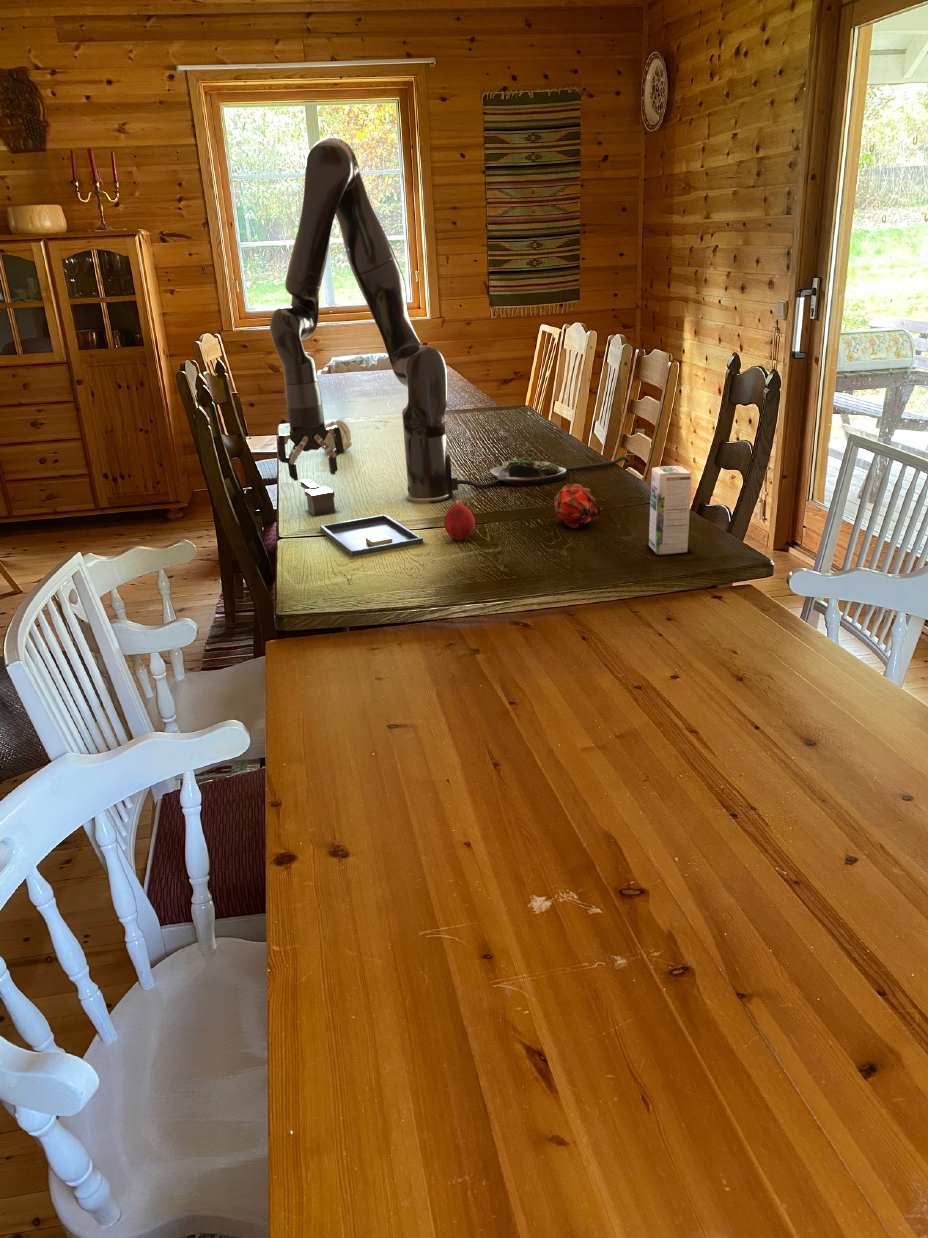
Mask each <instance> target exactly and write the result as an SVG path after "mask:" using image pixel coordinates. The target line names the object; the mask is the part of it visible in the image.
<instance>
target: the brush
mask: <svg viewBox="0 0 928 1238" xmlns="http://www.w3.org/2000/svg"><path fill="white" fill-rule="evenodd" d="M300 487H301V488H302V489H304V495H305V497H306V502H307V511H308V512H309V513H310V514H312V515H313V516H314V517H317V516H324V515H328V514H330V515H331V514H334V513H336V508H335V491H334V490H332V489H331V488H330V487H328V486H321V487H320V485H319V484H317V483H315V482H314V481H312V480H311V479H310V478H308V479H301V480H300Z"/></svg>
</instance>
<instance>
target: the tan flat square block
mask: <svg viewBox="0 0 928 1238" xmlns="http://www.w3.org/2000/svg"><path fill="white" fill-rule="evenodd" d="M366 542H367V543H368V544H370V545H371V546H372V547H374V546H379V545H384V544H390V543H392V538H391V537H389V536H388V535H386V534H379V535H374V536H368V537H366Z"/></svg>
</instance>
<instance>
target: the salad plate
mask: <svg viewBox="0 0 928 1238" xmlns="http://www.w3.org/2000/svg"><path fill="white" fill-rule="evenodd" d="M564 468H565V467H561V466H559V465H556V464H555V463H551V462H548V461H535V460H533V459H532V458H530V457H528V456H524V457H521V458H516V457H512V458H511V459H510V460H509V461H506V460H505V461H502V464H501V466H496V467H493V468H491V469H490V474H491V476H493V477H495V478H496V479H497V480H501V481H503V482H504V483H503V484H505V485H508V486H514V487H527V486H536V485H537V486H538V485H544V484H545V485H546V484H550V483H555V482H558V481H561V480H562V479H563V478H564V477H565V476H566V474H567V472H566V469H564Z"/></svg>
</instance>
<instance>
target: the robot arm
mask: <svg viewBox="0 0 928 1238" xmlns="http://www.w3.org/2000/svg"><path fill="white" fill-rule="evenodd" d="M358 163H359V162H358V160H357V157H356V154H355V152H354V150H353V149H352V147H351V146H350V145H349V144H348V143H347V142H346V141H345V140H343V139H341V138H338V137H335V136H328V137H327V136H326V137H324V138H322V139H320V140H319V141H317V142H316V143H315V144H313V145H312V147H311V148H310V149H309V150H308V152H307V153H306V157H305V169H304V171H305V173H304V186H303V188H304V189H303V198H302V199H303V200H302V207H301V213H300V218H299V223H298V228H297V231H296V235H295V239H294V243H293V248H292V251H291V255H290V259H289V262H288V263H289V264H288V267H287V272H286V278H285V283H284V288H285V291H286V293H288V294H289V295H290V296H291V303H290V306H283V307H280V308H277V309H275V310H274V312H273V313H272V314H271V317H270V320H269V332H270V337H271V339H272V342H273V345H274V347H275V350H276V353H277V355H278V357H279V360H280V361H281V365H282V366H281V367H282V373H283V380H284V395H285V396H284V397H285V405H286V409H287V410H286V411H287V414H288V422H289V433H284V434H282V433H277V434H276V435H275V436H276V447H277V449H276V450H277V457H278V460H279V461H280V462H281V463H283V464H287V467H288V474H289V477H290V479H292V480H293V481H294V482H297V481H299V476H298V470H297V463H296V462H297V459H298V457H299V456H300V455H301V453H302V452H304V453H305V452H309V451H318V450H320V449H322V448H323V449H324V450H325V451H326V452H325V451H324V450H323V449H322V450H323V451H324V452H325V453H327V454H328V457H327V460H328V467H329V468H328V469H329V473H330V475H332V476H334V475H336V473H337V472H338V469H339V468H338V462H337V460H338V459H337V457H338V456H339V455H342V454H344V452H345V451H344V448H343V443H342V437H341V432H340V428H339V427H337V426H333V427H331V428H326V427H325V425H326V423H325V416H324V408H323V407H324V406H323V400H322V393H321V387H320V385H319V381H318V372H317V364H316V359H315V357H314V355H313V354H312V353H310V352H308V351H307V352H306V350H305V348H304V345H303V342H302V341H305V340H307V339H309V338H310V337H312V336H313V335H314V333H315V331H316V329H317V328H318V323H319V317H320V316H319V315H320V290H321V286H322V281H323V279H324V274H325V269H326V266H327V262H328V254H329V248H330V242H331V241H330V240H331V233H332V228H333V223H334V220H335V216H336V219H337V221H338V224H339V228H340V233H341V236H342V241H343V244H344V249H345V253H346V256H347V260H348V264H349V266H350V269H351V272H352V275H353V276H354V279H355V282H356V283H357V285H358V288H359V290H360V292H361V294H362V296H363V298H364V300H365V302H366V305H367V307H368V309H369V311H370V313H371V315H372V318H373V320H374V322H375V324H376V326H377V329H378V331H379V334H380V335H381V339H382V342H383V344H384V347H385V350H386V353H387V356H388V359H389V362H390V366H391V368H392V371H393V375H394V376H395V378H396V379H397V380H398V382H399V383H401V384H402V385H403V386H404V387H406V388H407V404H406V406H405V407H404V408H403V409H402V410H401V411H402V412H401V416H402V430H403V443H404V454H405V467H406V468H405V469H406V481H407V482H406V483H407V487H406V488H407V493H408V494H407V498H408V500H409V501H411V502H417V503H435V502H440V501H441V502H442V501H444V500H448V499H450V498H454V493H453V492H454V491H458V490H459V485H467V486H471V487H473V488H476V489H485V488H490V487H494V486H497V485H500V484H505V483H504V482H503V481H501V480H499V479H496V480H493V481H490V482H486V483H478V482H477V483H476V482H474V481H471V480H467V479H458V477H457V476H454V475H453V474H452V460H451V459H452V458H451V455H450V454H449V453H448V451H447V450H448V449H447V436H446V435H447V434H446V420H445V419H446V418H445V415H446V414H445V413H446V409H447V406H448V371H447V364H446V360H445V357H444V356H443V354H442V352H441V351H440V350H438V349H437V348H435V347H433V346H429V345H425V344H422V342H421V340H420V338H419V337H418V334H417V332H416V330H415V328H414V326H413V324H412V320H411V319H410V315H409V309H408V297H407V287H406V281H405V278H404V274H403V272H402V269H401V267H400V264H399V261H398V260H397V258H396V257H397V256H396V254H395V252H394V250H393V248H392V246H391V244H390V242H389V239H388V237H387V235H386V233H385V231H384V228H383V227H382V224H381V222H380V221H379V218H378V216H377V215H376V213H375V211H374V209H373V206H372V205H371V201H370V199H369V196H368V193H367V189H366V187H365V184H364V181H363V177H362V174H361V171H360V167H359V164H358ZM328 433H330V435H331V436H332V437H334V442H335V449H334V450H332V449H331V448H330V446H329V445H328V444H327V443H326V442H325V439H326V437H327V435H328ZM289 440H290V441H291V442H292V443H293V445H292V447H291V449H290V452H289V454H288V455H287V454H286V445H287V444H288V442H289ZM621 461H625V462H627V463H631V460H630V458H629V457H627V456H626V455H622V456H619V457H617V458H616V459H614V460H610V461H605V462H599V463H592V464H585V465H584V464H583V465H577V466H570V467H563V468H564V469H566V473H569V472H577V471H583V470H590V469H597V468H602V467H603V468H604V467H609V466H614V465H616V464H618V463H620V462H621Z"/></svg>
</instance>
